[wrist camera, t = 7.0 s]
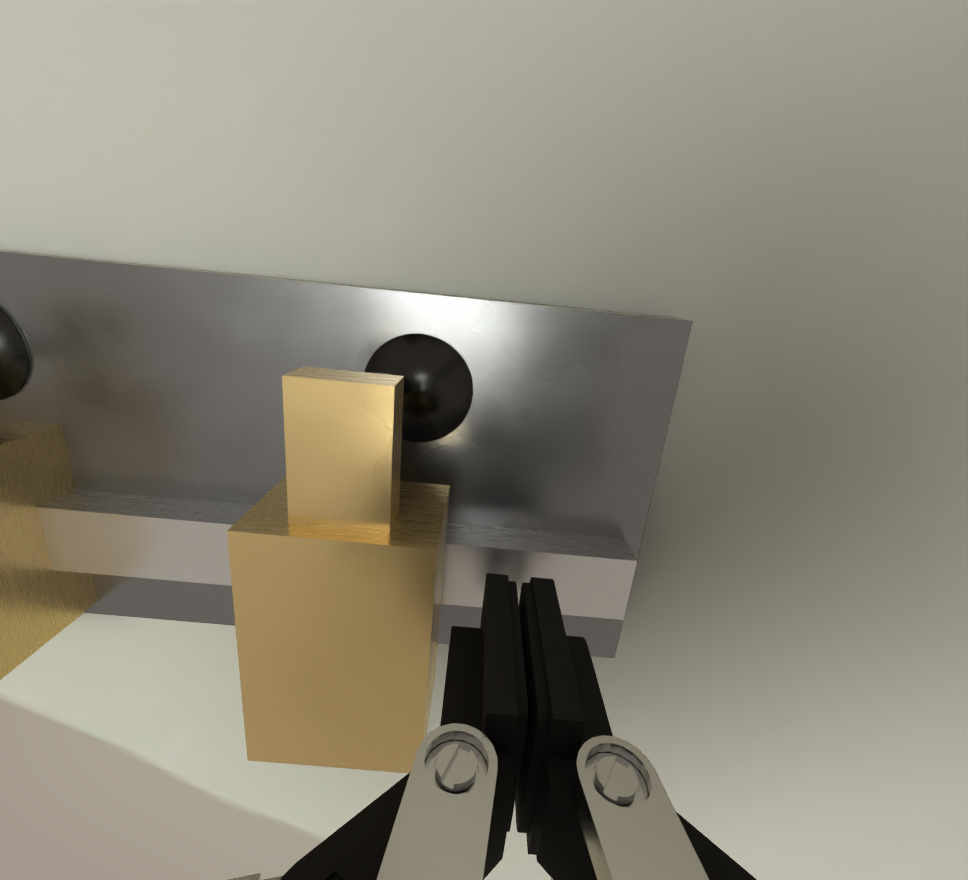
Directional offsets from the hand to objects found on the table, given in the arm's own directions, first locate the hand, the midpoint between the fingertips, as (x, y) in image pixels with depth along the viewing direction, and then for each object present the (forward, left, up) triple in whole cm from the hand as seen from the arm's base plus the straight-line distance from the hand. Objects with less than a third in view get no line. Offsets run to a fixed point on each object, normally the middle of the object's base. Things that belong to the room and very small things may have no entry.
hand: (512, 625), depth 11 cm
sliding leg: (+4, -2, -2) cm, 5 cm away
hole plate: (+7, -2, -4) cm, 8 cm away
